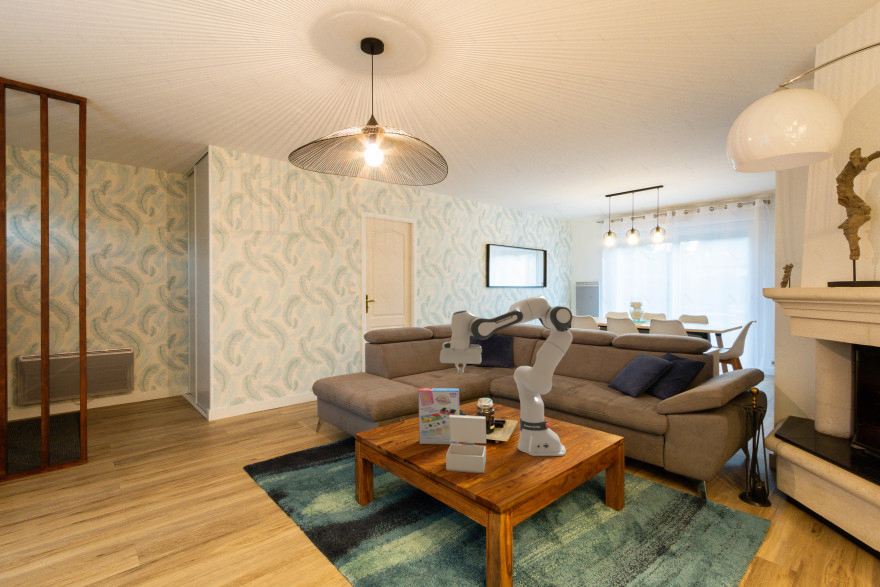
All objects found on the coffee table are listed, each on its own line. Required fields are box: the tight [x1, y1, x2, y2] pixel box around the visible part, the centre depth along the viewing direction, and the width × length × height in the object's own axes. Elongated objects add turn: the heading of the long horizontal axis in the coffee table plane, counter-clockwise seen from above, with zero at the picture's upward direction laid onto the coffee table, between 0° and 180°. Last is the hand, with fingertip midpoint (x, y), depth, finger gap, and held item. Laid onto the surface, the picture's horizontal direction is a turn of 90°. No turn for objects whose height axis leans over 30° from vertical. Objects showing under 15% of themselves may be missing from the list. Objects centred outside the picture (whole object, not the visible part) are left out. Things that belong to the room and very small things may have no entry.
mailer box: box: [445, 443, 487, 474], centre depth 178 cm, size 16×12×7 cm
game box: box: [417, 387, 461, 445], centre depth 206 cm, size 21×6×27 cm, turn 84°
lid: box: [449, 414, 487, 445], centre depth 187 cm, size 16×20×9 cm
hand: (460, 372), depth 197 cm, fingers closed
